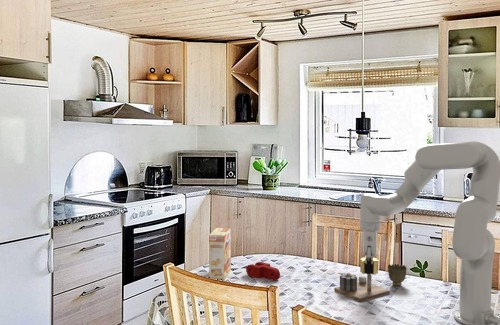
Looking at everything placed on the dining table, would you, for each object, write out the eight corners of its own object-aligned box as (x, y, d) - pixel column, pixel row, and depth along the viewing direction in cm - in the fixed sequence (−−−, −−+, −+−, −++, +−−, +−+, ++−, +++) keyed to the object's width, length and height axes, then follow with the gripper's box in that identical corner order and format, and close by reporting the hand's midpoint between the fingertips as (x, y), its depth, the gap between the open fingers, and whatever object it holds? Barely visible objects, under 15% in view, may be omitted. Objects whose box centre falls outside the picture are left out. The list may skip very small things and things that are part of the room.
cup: (407, 288, 190) (407, 269, 189) (388, 287, 192) (388, 268, 191) (405, 282, 197) (405, 264, 197) (386, 281, 199) (387, 263, 198)
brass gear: (377, 270, 187) (378, 258, 187) (377, 275, 181) (377, 262, 180) (360, 269, 189) (361, 256, 188) (359, 274, 183) (360, 261, 182)
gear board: (389, 293, 185) (389, 275, 184) (359, 301, 176) (360, 282, 176) (363, 283, 197) (363, 266, 196) (334, 290, 188) (334, 273, 188)
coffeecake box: (224, 280, 202) (224, 235, 200) (208, 279, 203) (208, 234, 202) (231, 270, 217) (231, 227, 215) (216, 269, 218) (216, 227, 216)
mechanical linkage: (246, 275, 210) (245, 263, 209) (257, 271, 215) (257, 260, 214) (272, 283, 198) (272, 271, 198) (283, 279, 203) (283, 268, 203)
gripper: (379, 231, 174) (378, 278, 175) (380, 221, 191) (379, 265, 192) (358, 229, 176) (358, 277, 177) (361, 220, 193) (360, 263, 194)
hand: (369, 270), depth 185 cm, fingers closed on brass gear, 6 cm apart
